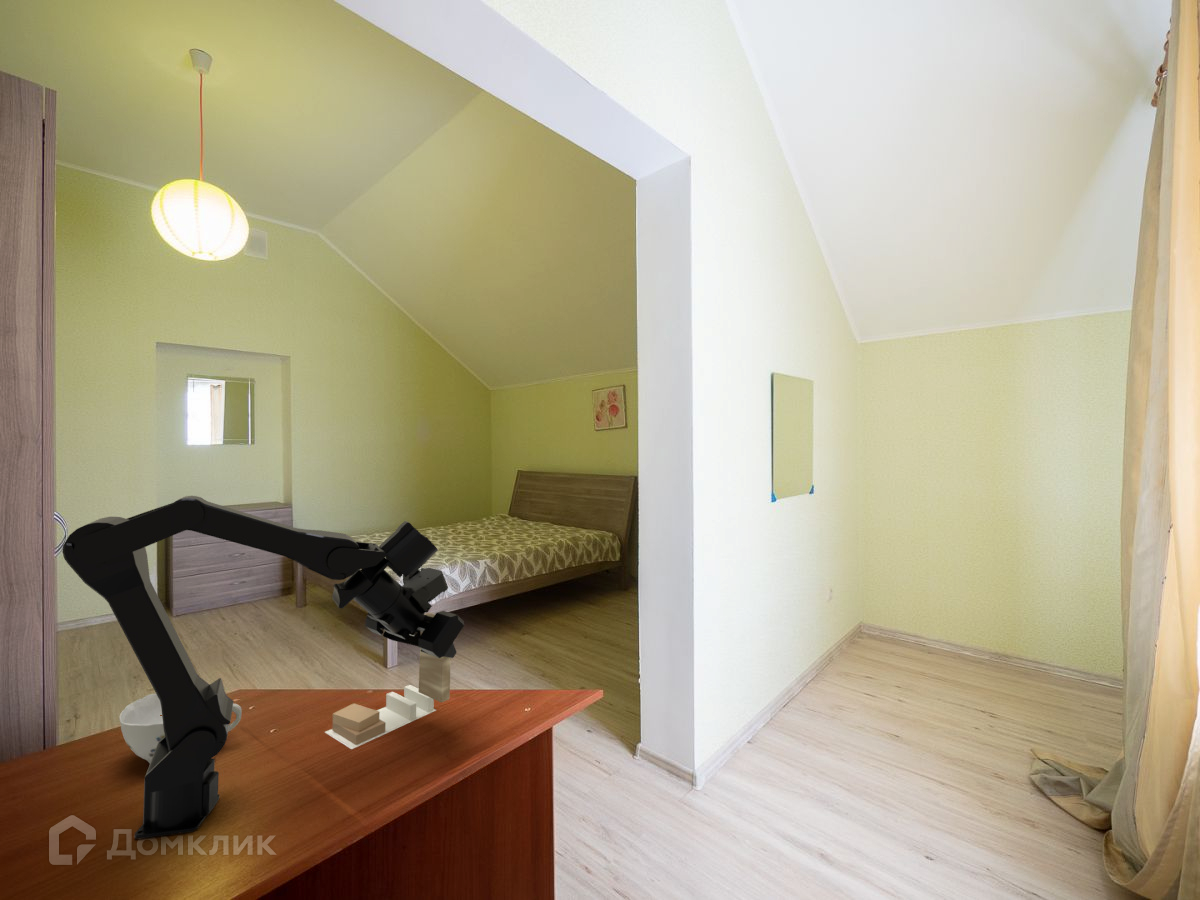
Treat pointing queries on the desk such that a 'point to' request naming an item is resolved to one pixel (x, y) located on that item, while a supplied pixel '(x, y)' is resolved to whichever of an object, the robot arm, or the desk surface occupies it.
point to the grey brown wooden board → (434, 675)
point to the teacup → (149, 725)
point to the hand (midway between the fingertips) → (442, 650)
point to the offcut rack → (379, 717)
